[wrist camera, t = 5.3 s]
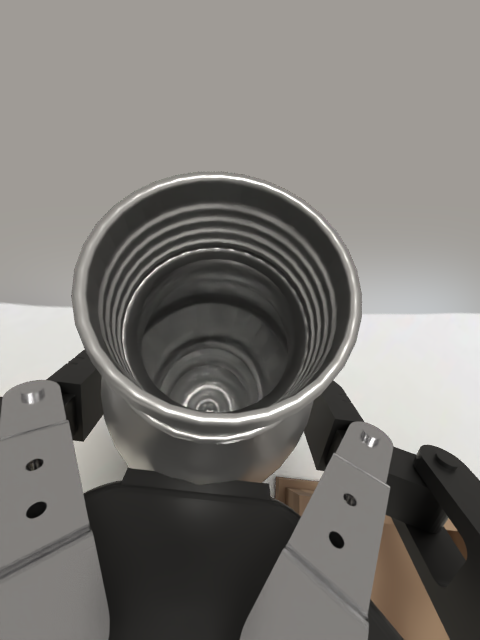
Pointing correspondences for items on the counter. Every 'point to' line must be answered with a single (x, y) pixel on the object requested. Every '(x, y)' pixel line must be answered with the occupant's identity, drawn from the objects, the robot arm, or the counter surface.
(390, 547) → the square wooden tray
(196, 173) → the silver metal bottle
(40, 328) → the counter surface
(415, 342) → the counter surface
